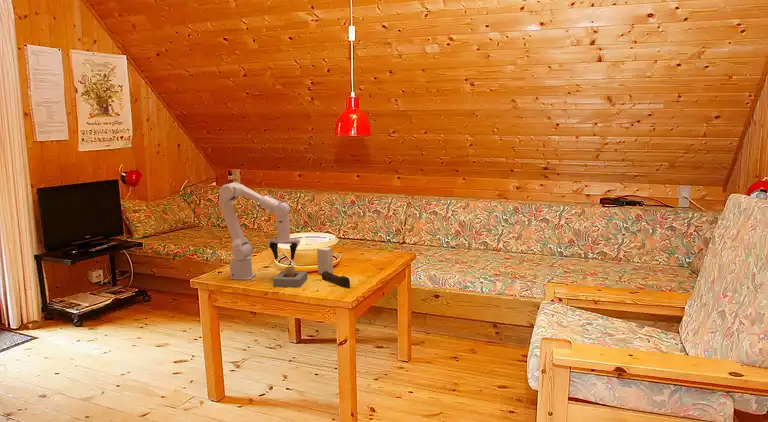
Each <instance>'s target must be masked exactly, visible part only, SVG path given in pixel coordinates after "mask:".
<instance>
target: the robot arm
mask: <svg viewBox="0 0 768 422" xmlns="http://www.w3.org/2000/svg"><path fill="white" fill-rule="evenodd" d="M218 194H219V198H218V199H219V201H218V206H219V209H220V211H221V214H222V217H223V219H224V222H225V224H226V227H227V230H228V232H229V235H230V237H231V241H232V242H231V249H232V253H231V255H232V257H233V258H232V259H230V262H229V275H230V276H229V280H243V281H245V280H247V281H248V280H251V279H252V278H254V277H255V276H256V273H253V264H252V254H253V253H254V247H253V245H252V244H251V243H250V241H249V238H247V237H245V235H244V233H243V231H242V228H241V225H240V222H239V220H238V216H237V214H236V211H235V209H234V206H233V203H234V202H235V200H236V199H237V197H245V198H246V199H250V200H252V201H254V202H256V203H259V206H260V207H261V208H263V209H264V210H267V211H269V212H271V213H273V215H275V221H276V222H275V225H276V238H274V237H273V238H267V245H269V246H268V247H269V249H270V250H271V252H272V254H273V258H274V260H278V259H279V256H278V255H279V252H278V248H279V247H278V246H279V244H280V245H281V244H283V245H289V249H290V261H293V260H294V259H295V254H296V251H297V248H298V246H299V245H300V243H301V240H300V239H299V238H298V239H297V238H291V235H290V233H291V232H290V214H289V213H291V206H290V205H289V203H287V202H286V201H283V202H282V201H281V200H278V199H275V198H273V197H272V195H261V194H260V193H257V192H256V191H255V190H253V189H250V188H249V187H247V186H245V185H244V184H241V183H239V182H236V181H233V182H231V183H227V184H226V183H225V184H223V185H222V186H221V187H220V189H219V191H218Z"/></svg>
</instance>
